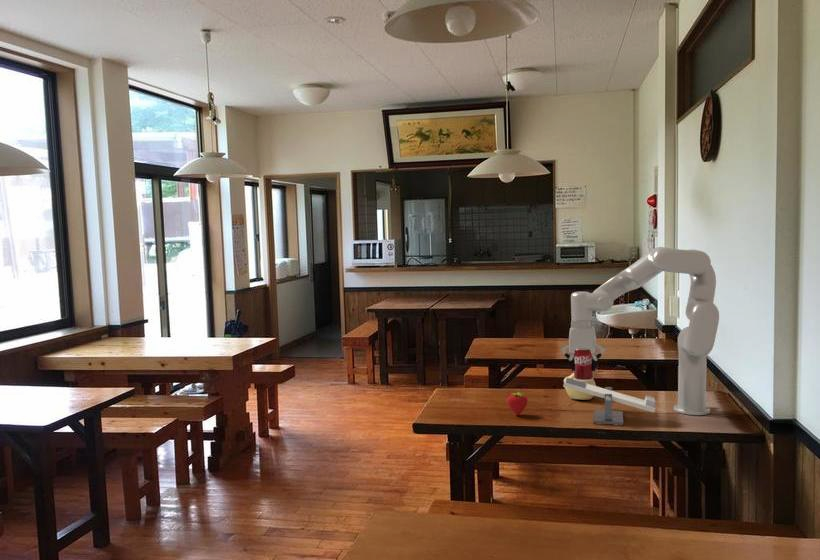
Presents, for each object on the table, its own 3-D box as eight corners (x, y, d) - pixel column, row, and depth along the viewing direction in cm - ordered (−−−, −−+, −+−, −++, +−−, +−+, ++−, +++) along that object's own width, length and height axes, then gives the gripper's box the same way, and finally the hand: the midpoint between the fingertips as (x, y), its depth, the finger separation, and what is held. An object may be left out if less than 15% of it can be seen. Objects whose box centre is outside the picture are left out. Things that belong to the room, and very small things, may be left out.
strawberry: (507, 412, 254) (507, 386, 253) (527, 413, 252) (527, 386, 252) (506, 417, 248) (506, 390, 247) (527, 417, 247) (527, 390, 246)
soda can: (594, 381, 252) (593, 349, 252) (574, 381, 254) (573, 349, 253) (593, 376, 260) (592, 346, 259) (573, 376, 261) (572, 346, 260)
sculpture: (577, 393, 280) (577, 367, 279) (601, 398, 271) (601, 372, 270) (559, 398, 273) (559, 372, 272) (583, 404, 264) (583, 376, 263)
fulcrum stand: (622, 414, 248) (622, 386, 247) (623, 425, 235) (623, 396, 234) (594, 412, 251) (594, 385, 250) (593, 423, 238) (593, 394, 237)
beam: (653, 406, 242) (655, 397, 241) (654, 412, 234) (657, 403, 234) (564, 381, 250) (566, 372, 250) (563, 386, 243) (565, 377, 242)
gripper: (605, 322, 256) (607, 368, 258) (559, 323, 261) (560, 368, 263) (605, 325, 249) (607, 372, 250) (557, 326, 254) (559, 372, 255)
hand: (583, 370), depth 257 cm, fingers closed on soda can, 7 cm apart
